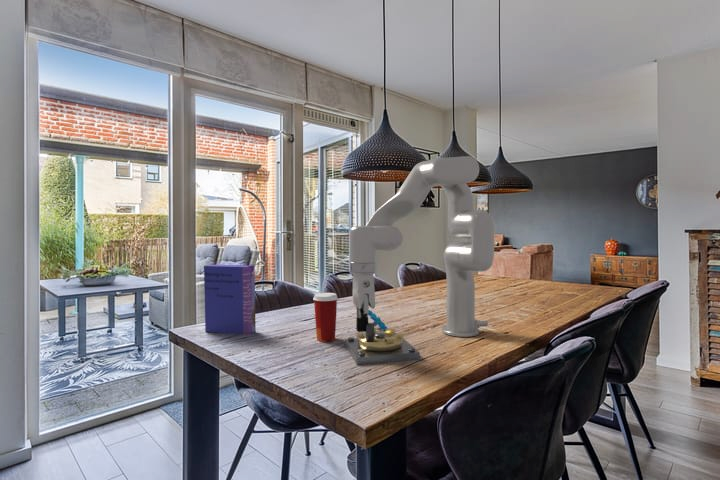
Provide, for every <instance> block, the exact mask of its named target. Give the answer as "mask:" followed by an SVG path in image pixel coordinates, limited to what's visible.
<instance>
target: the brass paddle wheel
mask: <svg viewBox="0 0 720 480" xmlns="http://www.w3.org/2000/svg"><path fill="white" fill-rule="evenodd" d="M387 328H388V329H386V331H383V330H382V331H381V330H378V331H377V330H376V328H375V326H374V323H373V322H368V323H366V332H358V331H357V333H356V338H358V346H359V347H361V348H363V349H366V350H371V351H390V350H395V349H398V348H400V347H401V346H402V339H404V332H397V333H396V329H395V328H389V327H387Z"/></svg>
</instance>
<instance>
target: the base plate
mask: <svg viewBox="0 0 720 480" xmlns="http://www.w3.org/2000/svg"><path fill="white" fill-rule="evenodd" d="M344 346H345V348H346V349H347V351H348V353H349V355H350V356H351V357H352V359H353V360H354V362H355V364H356V365H369V364H381V363H391V362H392V363H393V362H403V361H417V360H421V357H420V355H421V354H420V351H419V350H418V349H416V348H415V347H414V346H413V345H412V344H411V343H409V342H408V341H407V340H406V339H405V338H403V339H402V346H401V347H400V348H398V349H395V350H390V351H371V350H366V349H363V348H361V347H359V346H358V338H357V337H356V338H355V337H348V338H345V339H344Z"/></svg>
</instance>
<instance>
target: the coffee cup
mask: <svg viewBox="0 0 720 480" xmlns="http://www.w3.org/2000/svg"><path fill="white" fill-rule="evenodd" d="M338 299H339V298H338V295H337V293H334V292H319V293H316V294H314V296H313V299H312V300H313V304H314V317H315V318H314V319H315V333H316V334H315V335H316V341H318V342H320V343H329V342H330V343H331V342H333V341H335V340H336V330H337V329H336V328H337V326H336V325H337V309H338V305H337V304H338Z"/></svg>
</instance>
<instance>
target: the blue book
mask: <svg viewBox="0 0 720 480" xmlns="http://www.w3.org/2000/svg"><path fill="white" fill-rule="evenodd" d="M255 277H256V275H255V265H252V264H251V265H250V264H247V265H246V264H241V265H239V264H206V265H203V280H204V281H203V283H204V286H203V287H204V319H205V320H204V323H205V325H204V326H205V333H214V334H216V333H217V334H228V335H241V336H242V335H243V336H250V335H252V334H254V333H256V329H257V328H256V287H255V284H256V281H255V280H256V278H255Z"/></svg>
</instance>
